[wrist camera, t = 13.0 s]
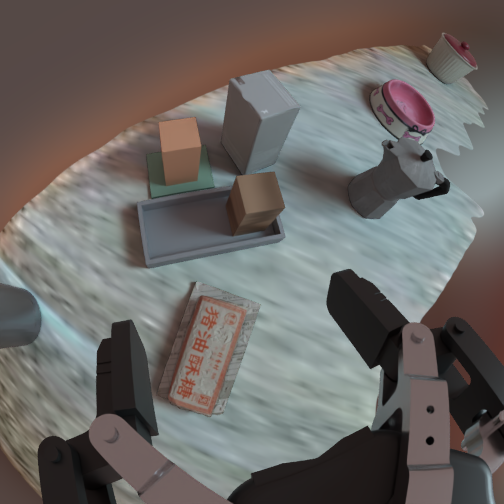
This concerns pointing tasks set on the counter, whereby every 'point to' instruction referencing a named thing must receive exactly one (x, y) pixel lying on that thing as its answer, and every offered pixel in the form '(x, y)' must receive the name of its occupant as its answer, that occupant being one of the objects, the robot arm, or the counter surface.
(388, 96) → the dog bowl
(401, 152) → the coffeepot
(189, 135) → the terracotta carton
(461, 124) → the counter surface
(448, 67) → the canister
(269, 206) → the walnut block
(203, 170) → the green mat
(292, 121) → the skincare box
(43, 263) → the counter surface
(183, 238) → the grey bin
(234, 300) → the packaged product
